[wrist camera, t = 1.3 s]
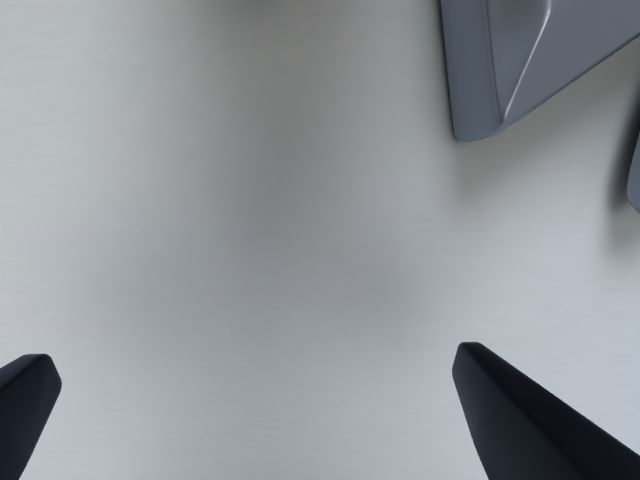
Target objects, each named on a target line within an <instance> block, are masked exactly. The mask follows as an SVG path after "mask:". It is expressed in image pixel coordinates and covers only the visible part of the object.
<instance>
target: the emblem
mask: <svg viewBox="0 0 640 480" xmlns="http://www.w3.org/2000/svg"><path fill="white" fill-rule="evenodd" d="M441 10H442V21H443V31H444V41H445V52H446V62H447V72H448V83H449V93H450V103H451V113H452V122H453V129H454V135H455V137H456V139H457V140H458V141H461V142H469V141H476V140H480V139H484V138H487V137H490V136H493V135H495V134H497V133H499V132H501V131H503V130H504V129H506V128H508V127H509V126H511V125H512V124H514V123H515V122H517V121H518V120H520V119H521V118H523V117H524V116H526V115H527V114H528V113H530V112H531V111H533V110H534V109H536V108H537V107H538V106H540V105H541V104H543V103H544V102H546V101H547V100H548V99H550V98H551V97H553V96H554V95H556V94H557V93H558V92H560V91H561V90H563V89H564V88H566V87H567V86H568V85H570V84H571V83H573V82H574V81H576V80H577V79H578V78H580V77H581V76H583V75H584V74H586V73H587V72H588V71H590V70H591V69H593V68H594V67H596V66H597V65H598V64H600V63H601V62H603V61H604V60H605V59H607V58H608V57H610V56H611V55H613V54H614V53H615V52H617V51H618V50H620V49H621V48H623V47H624V46H625V45H627V44H628V43H630V42H631V41H632V40H634V39H635V38H637V37H638V36H640V0H441ZM627 199H628V201H629V203H630V204H631V205H632V206H633V207H634V209H635V210H636V211H637V212H638V214H640V133H639V137H638V140H637V144H636V147H635V151H634V155H633V159H632V163H631V167H630V172H629V177H628V183H627Z"/></svg>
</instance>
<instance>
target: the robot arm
mask: <svg viewBox="0 0 640 480" xmlns="http://www.w3.org/2000/svg"><path fill="white" fill-rule="evenodd" d="M452 375H453V379H454V383H455V386H456V389H457V392H458V395H459V398H460V402H461V405H462V408H463V411H464V414H465V417H466V421H467V424H468V427H469V430H470V433H471V436H472V439H473V442H474V445H475V448H476V450H477V453H478V455H479V458H480V460H481V462H482V465H483V467H484V469H485V472H486V474H487V476H488V479H489V480H640V455H638V454H637V453H635V452H634V451H632V450H631V449H630V448H628V447H627V446H625V445H624V444H623V443H621V442H620V441H618V440H617V439H616V438H614V437H613V436H611V435H610V434H608V433H607V432H606V431H604V430H603V429H601V428H600V427H599V426H597V425H596V424H594V423H593V422H591V421H590V420H589V419H587V418H586V417H584V416H583V415H582V414H580V413H579V412H577V411H576V410H574V409H573V408H572V407H570V406H569V405H567V404H566V403H565V402H563V401H562V400H560V399H559V398H557V397H556V396H555V395H553V394H552V393H550V392H549V391H548V390H546V389H545V388H543V387H542V386H540V385H539V384H538V383H536V382H535V381H533V380H532V379H531V378H529V377H528V376H526V375H525V374H524V373H522V372H521V371H519V370H518V369H516V368H515V367H514V366H512V365H511V364H509V363H508V362H507V361H505V360H504V359H502V358H501V357H499V356H498V355H497V354H495V353H494V352H492V351H491V350H490V349H488V348H487V347H485V346H484V345H482V344H481V343H479V342H462V343H460V345H459V346H458V349H457V353H456V356H455V360H454V364H453V368H452ZM61 385H62V383H61V378H60V376H59V374H58V372H57V369H56V367H55V365H54V363H53V360H52V358H51V357H50V356H49V355H47V354H27V355H23V356H21V357H19V358H18V359H16V360H14V361H12V362H11V363H9V364H7V365H5V366H4V367H2V368H0V480H19V478H20V476H21V475H22V473H23V471H24V469H25V467H26V465H27V463H28V461H29V459H30V457H31V455H32V453H33V451H34V448H35V446H36V444H37V442H38V440H39V437H40V435H41V433H42V431H43V429H44V426H45V424H46V422H47V420H48V418H49V415H50V413H51V411H52V409H53V407H54V404H55V402H56V400H57V398H58V396H59V393H60V391H61Z"/></svg>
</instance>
